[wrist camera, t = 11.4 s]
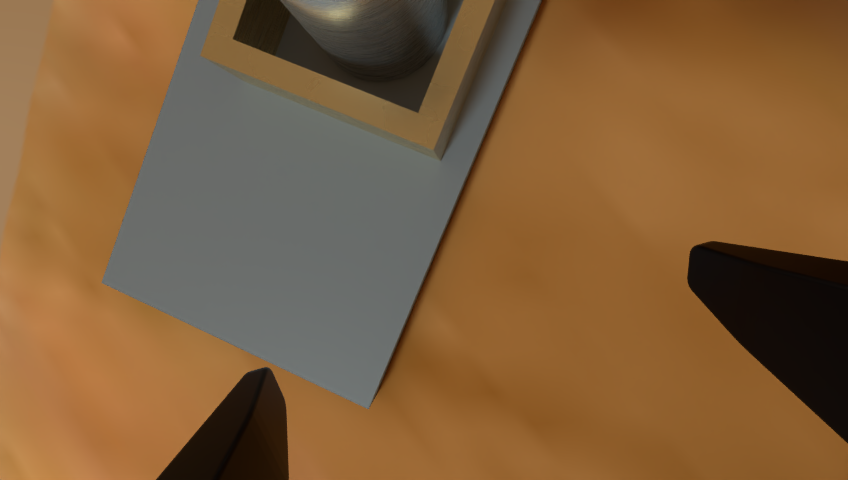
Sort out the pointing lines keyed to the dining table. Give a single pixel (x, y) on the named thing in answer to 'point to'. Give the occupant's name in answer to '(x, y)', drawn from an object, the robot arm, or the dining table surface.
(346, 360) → the board
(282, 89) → the tan square tray
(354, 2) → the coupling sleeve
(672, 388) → the dining table surface
